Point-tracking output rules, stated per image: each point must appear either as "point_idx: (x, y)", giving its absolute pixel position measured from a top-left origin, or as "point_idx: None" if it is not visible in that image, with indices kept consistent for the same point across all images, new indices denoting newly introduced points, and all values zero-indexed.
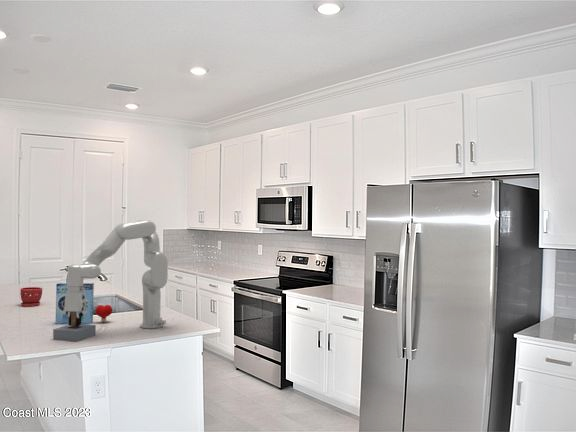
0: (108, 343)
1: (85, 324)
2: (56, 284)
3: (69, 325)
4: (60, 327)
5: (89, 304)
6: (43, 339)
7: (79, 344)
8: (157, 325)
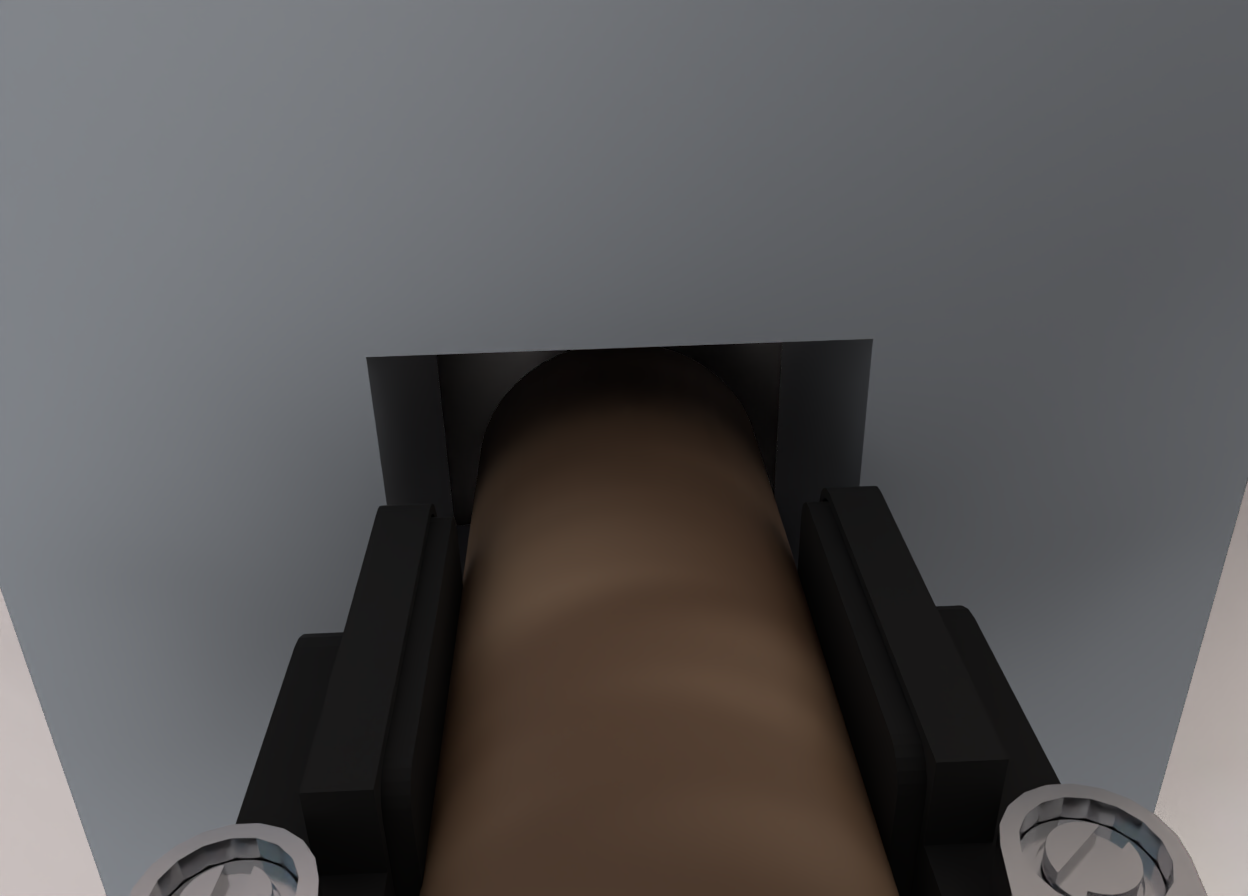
0: None
1: None
2: None
3: (117, 389)
4: (117, 764)
5: None
6: (13, 815)
7: (1202, 849)
8: None
